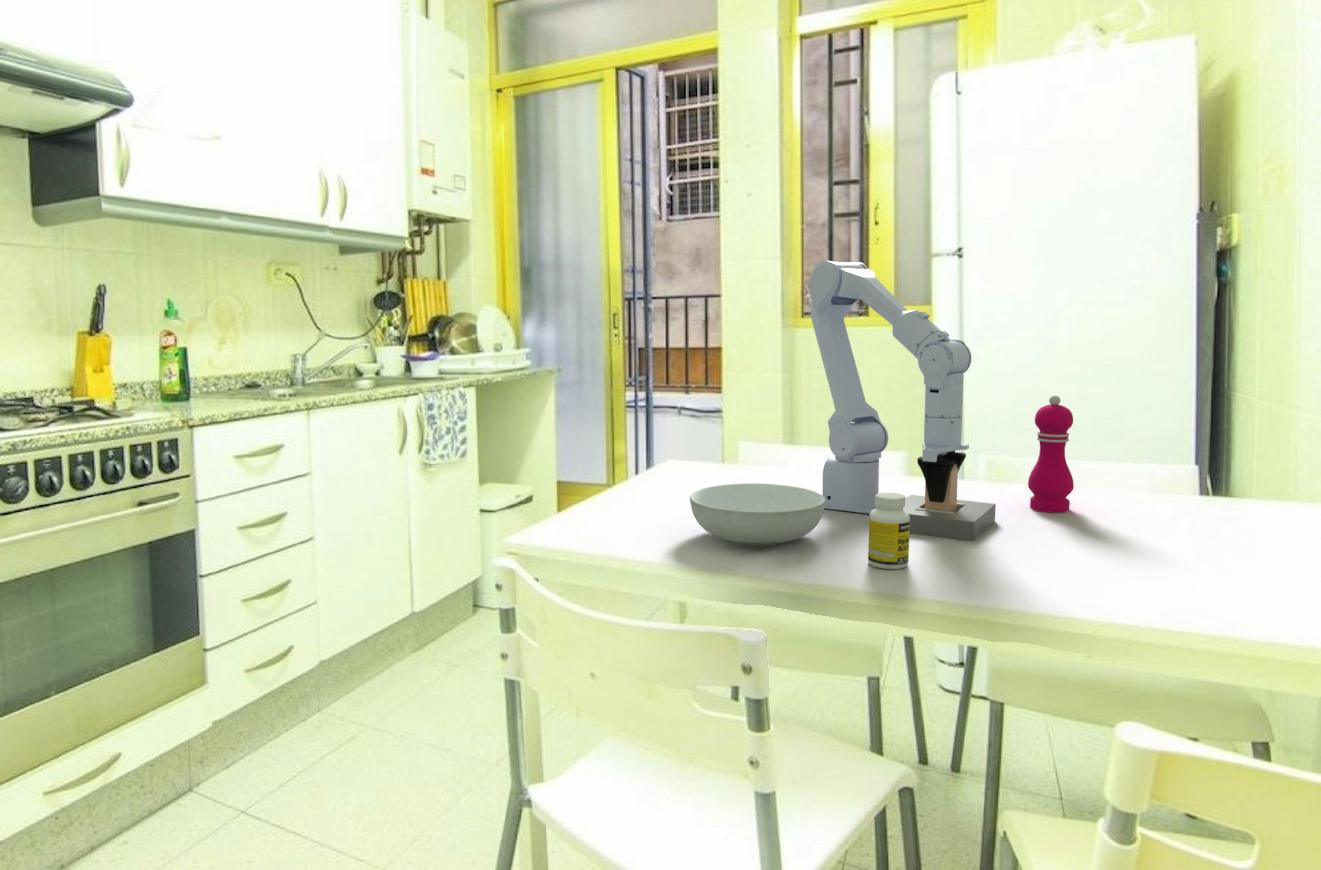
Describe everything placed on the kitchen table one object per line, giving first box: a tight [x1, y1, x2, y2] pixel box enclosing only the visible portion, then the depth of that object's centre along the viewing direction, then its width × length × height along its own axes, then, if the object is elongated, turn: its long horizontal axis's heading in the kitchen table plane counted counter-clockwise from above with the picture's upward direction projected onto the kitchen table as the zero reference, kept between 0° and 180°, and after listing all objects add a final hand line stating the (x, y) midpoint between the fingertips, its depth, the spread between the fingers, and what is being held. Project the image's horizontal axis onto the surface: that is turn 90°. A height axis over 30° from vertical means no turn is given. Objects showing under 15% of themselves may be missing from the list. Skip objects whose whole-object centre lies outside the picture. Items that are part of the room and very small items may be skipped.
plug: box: [924, 464, 959, 513], centre depth 132 cm, size 4×4×9 cm
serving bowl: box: [689, 482, 826, 547], centre depth 127 cm, size 21×21×7 cm
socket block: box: [903, 494, 997, 542], centre depth 133 cm, size 14×14×3 cm
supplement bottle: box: [867, 492, 910, 570], centre depth 112 cm, size 5×5×10 cm
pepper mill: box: [1027, 395, 1074, 514], centre depth 141 cm, size 7×7×20 cm
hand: (940, 498), depth 132 cm, fingers closed on plug, 4 cm apart
